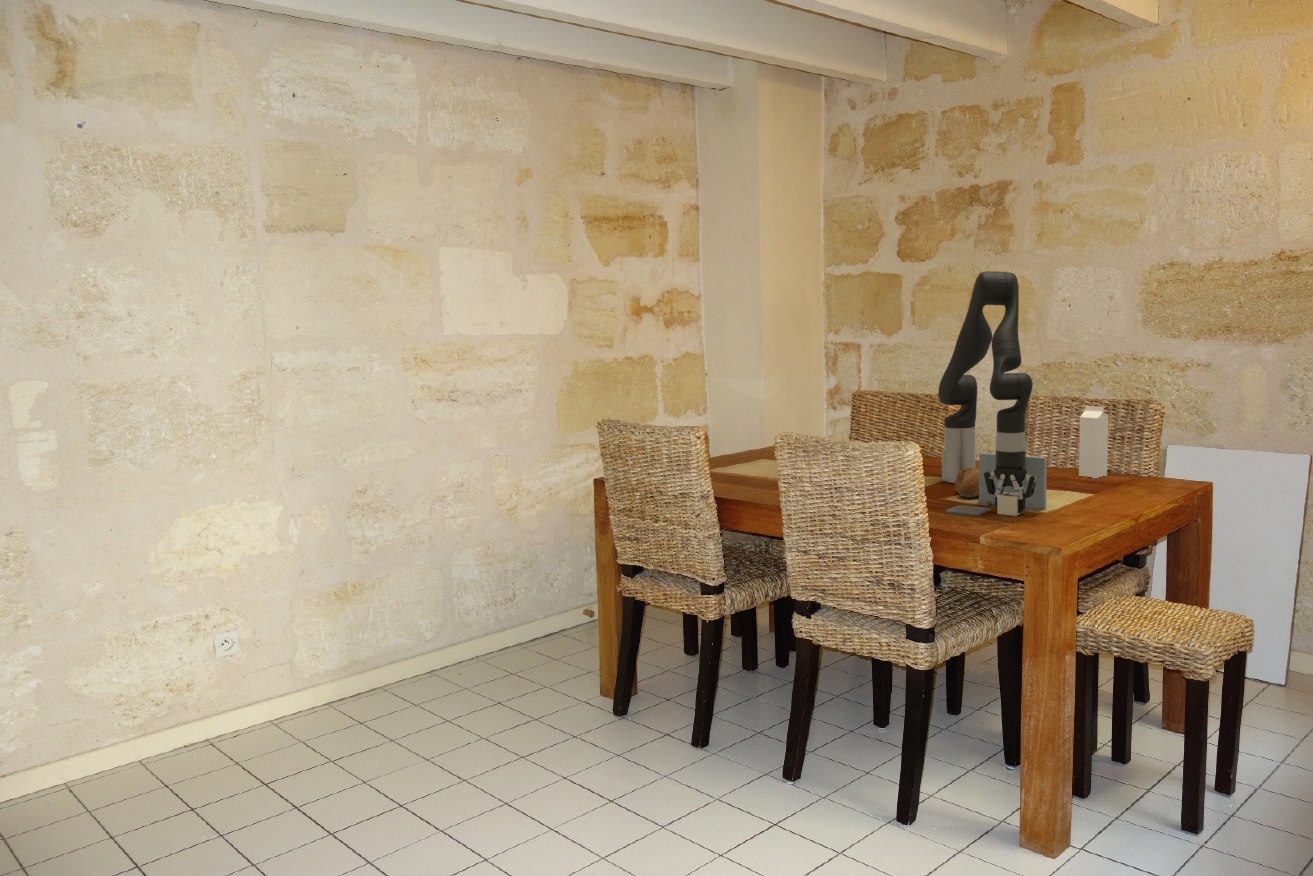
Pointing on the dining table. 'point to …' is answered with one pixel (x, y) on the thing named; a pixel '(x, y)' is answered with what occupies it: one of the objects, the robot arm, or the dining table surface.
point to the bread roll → (968, 482)
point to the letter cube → (1007, 504)
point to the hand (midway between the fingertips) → (1010, 511)
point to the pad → (968, 510)
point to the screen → (1033, 503)
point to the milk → (1093, 442)
